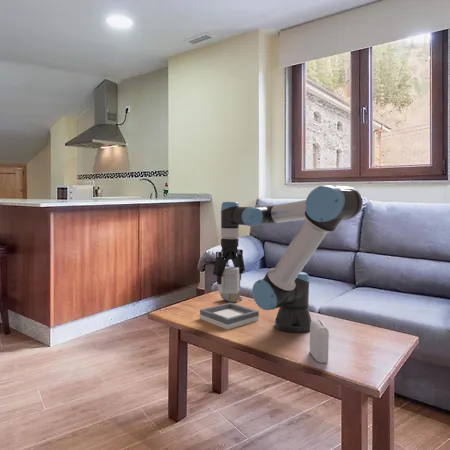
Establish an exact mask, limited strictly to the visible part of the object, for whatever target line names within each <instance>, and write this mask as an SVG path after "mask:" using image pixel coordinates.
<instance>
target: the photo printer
mask: <svg viewBox="0 0 450 450" xmlns="http://www.w3.org/2000/svg"><path fill="white" fill-rule="evenodd" d="M311 320H312V321H311V323H310V331H309V352H310V354H311V355H312V357H313V359H314V360H315V361H316V362H318V363H319V364H320V363H321V364H326V363H327V362H328V361H329V343H330V342H329V337H330V334H329V329H328V327H327V325H326V323H325V322H324V321H323V320H321V319H319V318H314V319H311Z"/></svg>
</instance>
